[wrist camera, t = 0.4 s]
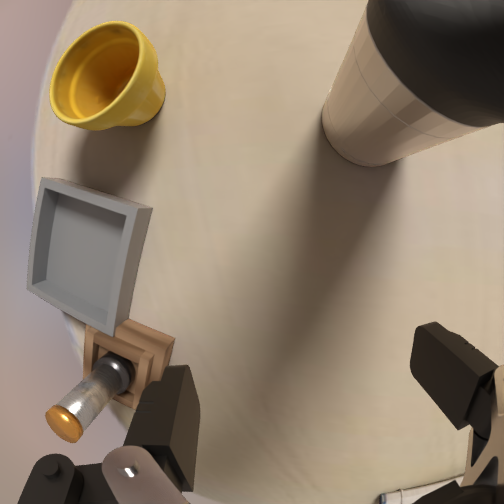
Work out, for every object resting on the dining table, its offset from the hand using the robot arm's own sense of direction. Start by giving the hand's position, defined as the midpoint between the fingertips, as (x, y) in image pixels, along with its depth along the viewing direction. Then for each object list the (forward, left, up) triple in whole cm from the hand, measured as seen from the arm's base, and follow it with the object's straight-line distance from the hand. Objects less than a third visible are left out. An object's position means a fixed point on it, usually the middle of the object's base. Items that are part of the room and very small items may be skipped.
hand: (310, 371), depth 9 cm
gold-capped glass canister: (+17, -14, -17) cm, 28 cm away
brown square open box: (+17, -14, -20) cm, 30 cm away
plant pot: (-12, -21, -21) cm, 32 cm away
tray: (+6, -22, -20) cm, 31 cm away
